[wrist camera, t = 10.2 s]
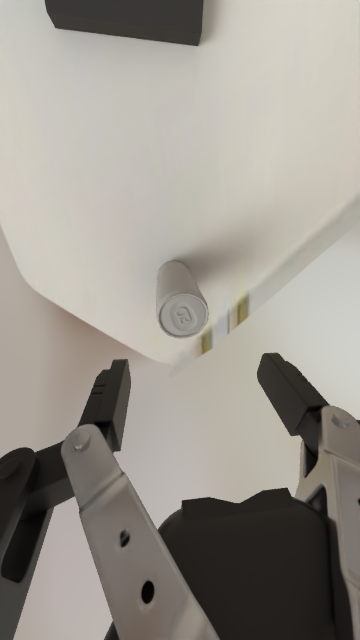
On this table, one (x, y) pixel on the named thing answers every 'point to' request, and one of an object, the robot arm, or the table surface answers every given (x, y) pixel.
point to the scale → (131, 18)
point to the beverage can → (179, 302)
